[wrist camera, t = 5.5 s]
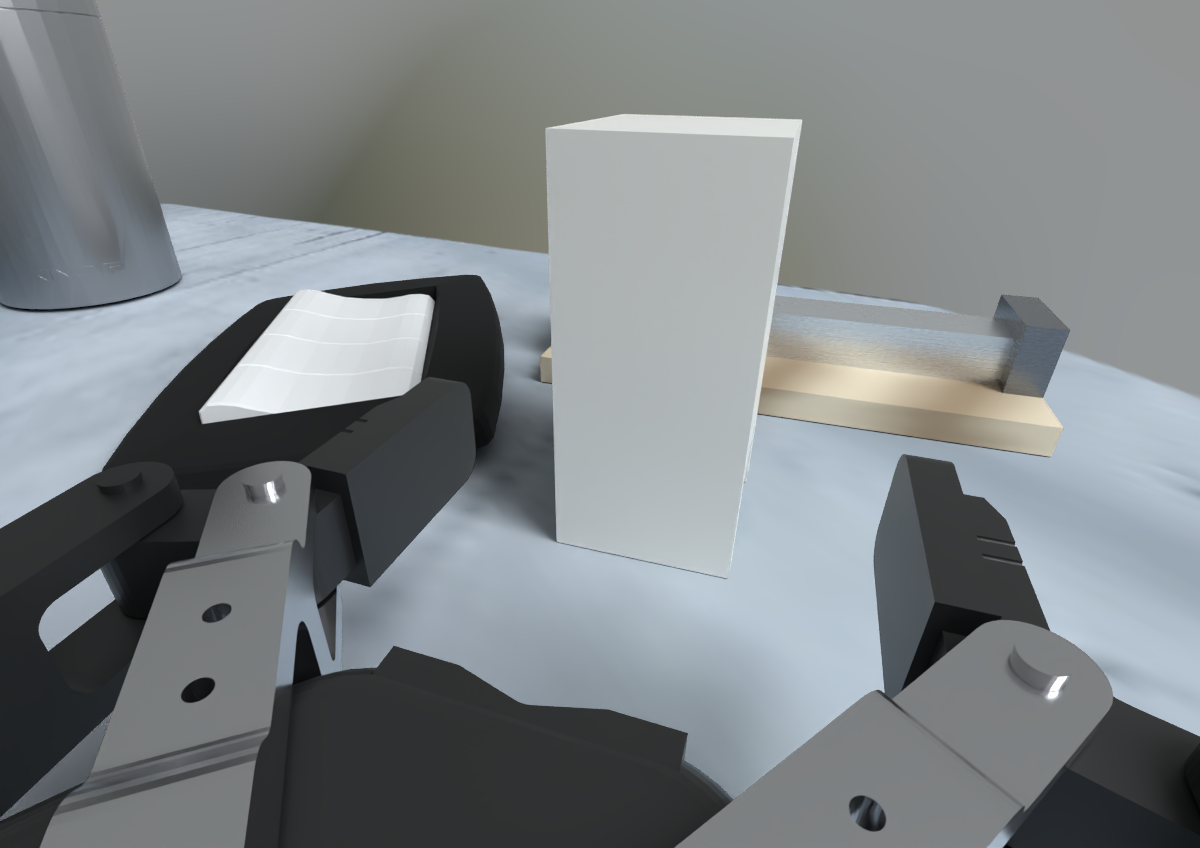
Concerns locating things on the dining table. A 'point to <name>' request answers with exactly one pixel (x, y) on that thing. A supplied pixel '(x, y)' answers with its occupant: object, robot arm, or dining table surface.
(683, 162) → the block
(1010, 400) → the mounting board
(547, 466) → the dining table surface
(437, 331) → the light switch
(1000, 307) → the rail
